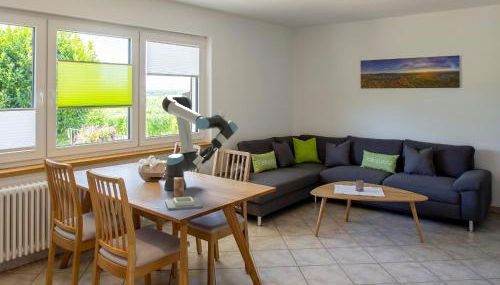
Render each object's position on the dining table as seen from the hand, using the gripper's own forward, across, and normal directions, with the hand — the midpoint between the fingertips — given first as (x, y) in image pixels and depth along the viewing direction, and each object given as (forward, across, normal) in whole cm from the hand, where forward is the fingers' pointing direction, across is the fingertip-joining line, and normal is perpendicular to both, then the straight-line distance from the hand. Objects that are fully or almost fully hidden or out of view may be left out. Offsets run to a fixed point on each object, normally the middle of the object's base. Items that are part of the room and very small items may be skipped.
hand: (196, 165), depth 258 cm
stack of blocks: (+24, +62, -4) cm, 66 cm away
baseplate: (+22, -19, -6) cm, 30 cm away
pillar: (+22, +1, -6) cm, 23 cm away
